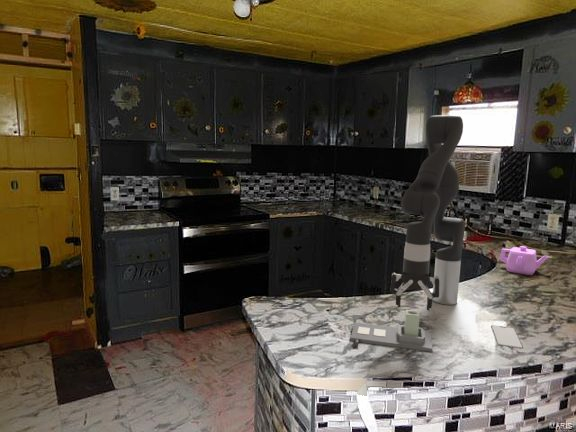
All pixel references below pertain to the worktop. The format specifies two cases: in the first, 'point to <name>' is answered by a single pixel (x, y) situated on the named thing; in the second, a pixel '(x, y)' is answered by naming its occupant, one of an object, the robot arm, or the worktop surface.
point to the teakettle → (521, 260)
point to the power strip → (390, 336)
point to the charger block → (411, 323)
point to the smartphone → (506, 336)
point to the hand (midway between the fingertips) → (413, 307)
